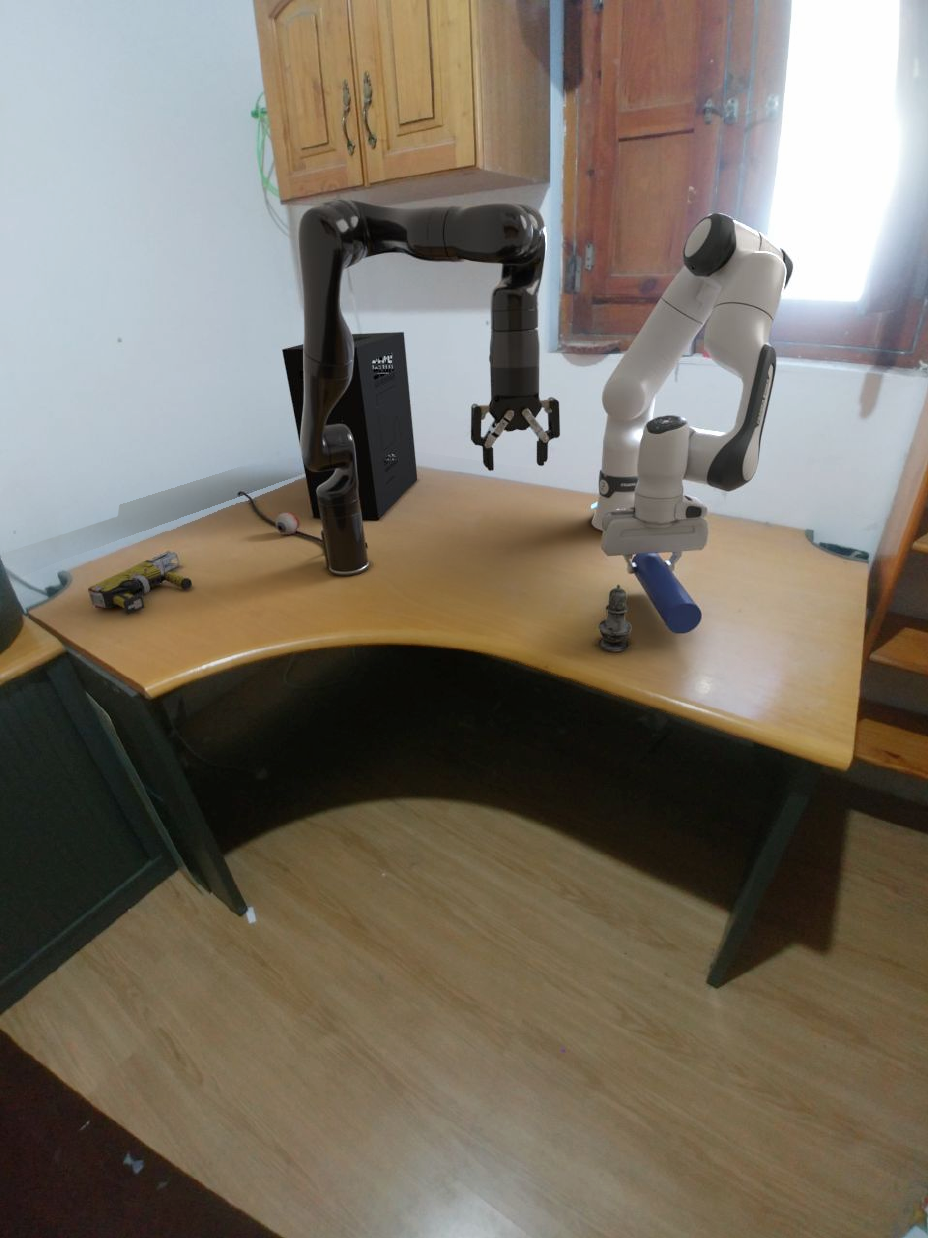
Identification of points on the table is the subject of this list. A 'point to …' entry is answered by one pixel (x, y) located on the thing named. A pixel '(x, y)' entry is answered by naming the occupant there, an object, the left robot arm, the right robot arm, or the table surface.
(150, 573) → the toy gun
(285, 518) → the eyeball
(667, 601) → the rod
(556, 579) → the table surface
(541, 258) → the left robot arm
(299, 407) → the cardboard box
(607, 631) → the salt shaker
